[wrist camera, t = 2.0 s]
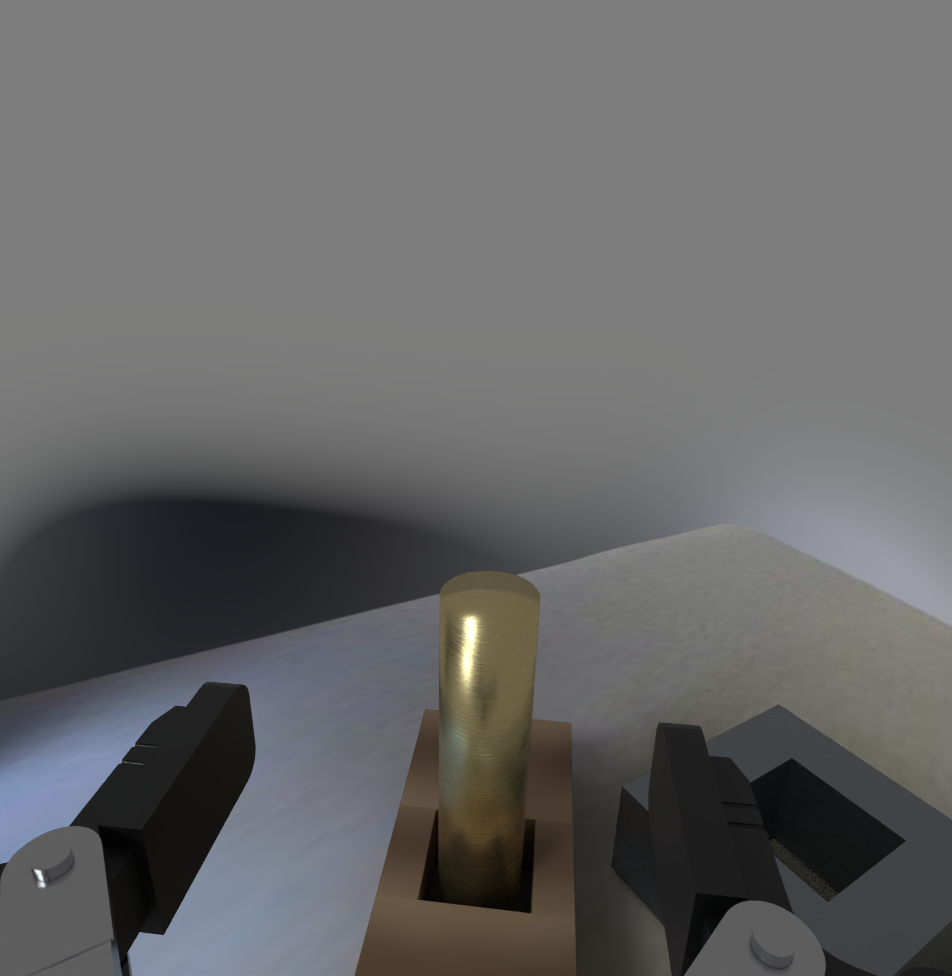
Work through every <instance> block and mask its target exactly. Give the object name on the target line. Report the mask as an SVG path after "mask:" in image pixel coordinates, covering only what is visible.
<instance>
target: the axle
mask: <svg viewBox="0 0 952 976" xmlns="http://www.w3.org/2000/svg"><path fill="white" fill-rule="evenodd" d="M539 607H540V595H539V592H538V590H537V589H536V588H535V586H534V585H533V584H531V583H530V582H529V581H527V580H525V579H523V578H521V577H519V576H516V575H513V574H510V573H505V572H498V571H475V572H470V573H465V574H462V575H459V576H456V577H454V578H452V579H451V580H449V581H448V582H447V583H446V584H445V585H444V586H443V587H442V589H441V592H440V646H439V825H438V902H440V903H448V904H456V905H465V906H473V907H481V908H490V909H498V910H506V911H515V912H519V900H520V886H521V871H522V856H523V842H524V827H525V813H526V798H527V783H528V769H529V754H530V739H531V725H532V710H533V695H534V681H535V666H536V651H537V637H538V622H539Z"/></svg>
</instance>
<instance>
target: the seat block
mask: <svg viewBox="0 0 952 976" xmlns="http://www.w3.org/2000/svg"><path fill="white" fill-rule="evenodd" d="M705 743H706V746H707V750H708V753H709V756H718V757H729V758H731V759H732V761H733V762H734V763H735V764H736V765H737V767H738V768H739V769H740V770H741V771H742V773H743V774H744V775H745V776H746V777H747V778H748V780H749V782H750V785H751V788H752V791H753V794H754V797H755V800H756V803H757V810H759V812H760V815H761V818H762V821H763V824H764V830H765V831H766V833H767V836H768V838H770V837H771V836H774V837H775V838H776V839H777V840H778V841H779V842H781V843H782V844H783V845H784V846H785V847H787V848H788V849H789V850H790V851H791V852H793V853H794V854H795V855H796V856H797V857H798V858H800V859H801V860H802V861H803V862H804V863H806V864H807V865H808V866H809V867H810V868H811V869H813V870H814V871H815V872H816V873H817V874H819V875H820V876H821V877H822V878H823V879H825V880H826V881H827V882H828V883H829V884H830V885H832V886H833V887H834V888H835V889H836V890H838V891H839V892H840V893H839V894H838V895H837V896H835V897H834V898H833V899H831V900H830V901H829V902H827V901H826V900H825V899H823V898H822V897H821V896H820V895H819V894H818V893H817V892H815V891H814V890H813V889H812V888H811V887H810V886H808V885H807V884H806V883H805V882H804V881H803V880H802V879H800V878H799V877H798V876H797V875H796V874H795V873H794V872H792V871H791V870H790V869H789V868H788V867H787V866H785V865H784V864H783V863H782V862H781V861H780V860H779V859H777V858H776V857H775V856H774V857H775V860H776V863H777V866H778V869H779V872H780V875H781V878H782V881H783V884H784V887H785V890H786V893H787V896H788V899H789V902H790V905H791V908H792V910H793V913H794V915H795V916H796V917H798V918H799V919H800V920H801V921H802V922H803V923H804V924H806V925H807V927H808V928H809V929H810V930H811V931H812V932H813V934H814V935H815V937H816V938H817V940H818V941H819V943H820V946H821V947H822V948H823V949H824V950H826V951H827V952H829V953H830V954H831V955H833V956H835V957H836V958H838V959H840V960H841V961H844V962H846V963H848V964H850V965H852V966H855V967H857V968H859V969H862V970H864V971H867V972H869V973H872V974H874V975H877V976H899V975H900V974H901V973H902V972H904V971H905V970H907V969H911V968H914V967H929V968H935V969H939V970H942V971H945V972H947V973H951V972H952V820H951V819H950V818H948V817H947V816H945V815H944V814H942V813H941V812H939V811H938V810H936V809H935V808H933V807H932V806H930V805H929V804H927V803H926V802H924V801H923V800H921V799H920V798H918V797H917V796H915V795H914V794H912V793H911V792H909V791H908V790H906V789H905V788H903V787H902V786H900V785H899V784H897V783H896V782H894V781H893V780H891V779H890V778H888V777H887V776H885V775H884V774H882V773H881V772H879V771H878V770H876V769H875V768H873V767H872V766H870V765H869V764H867V763H866V762H864V761H863V760H861V759H860V758H858V757H857V756H855V755H854V754H852V753H851V752H849V751H848V750H846V749H845V748H843V747H842V746H840V745H839V744H837V743H836V742H834V741H833V740H831V739H830V738H828V737H827V736H825V735H824V734H822V733H821V732H819V731H818V730H816V729H815V728H813V727H812V726H810V725H809V724H807V723H806V722H804V721H803V720H801V719H800V718H798V717H797V716H795V715H794V714H792V713H791V712H789V711H788V710H786V709H785V708H783V707H782V706H780V705H779V704H778V705H776V706H774V707H773V708H771V709H769V710H767V711H765V712H763V713H761V714H759V715H757V716H755V717H753V718H751V719H750V720H748V721H746V722H744V723H742V724H740V725H738V726H736V727H734V728H732V729H730V730H728V731H727V732H725V733H723V734H721V735H719V736H717V737H715V738H713V739H711V740H709V741H707V742H705ZM650 774H651V771H650V772H648V773H646V774H644V775H642V776H640V777H638V778H636V779H635V780H633V781H631V782H629V783H627V784H625V785H623V786H622V791H621V798H620V806H619V813H618V820H617V828H616V835H615V843H614V850H613V857H612V865H611V867H612V868H613V869H614V870H615V871H616V872H617V873H618V874H619V876H620V877H621V878H622V879H623V880H624V881H625V882H626V883H627V885H628V886H629V887H630V888H631V889H632V890H633V891H634V892H635V893H636V895H637V896H638V897H639V898H640V899H641V900H642V901H643V902H644V904H645V905H646V906H647V907H648V908H649V909H650V910H651V911H652V912H653V914H654V915H655V916H656V917H657V918H658V919H659V920H660V921H661V923H662V924H663V925H664V918H663V911H662V904H661V897H660V891H659V884H658V877H657V870H656V864H655V857H654V850H653V843H652V836H651V830H650V823H649V812H648V792H649V782H650ZM664 926H665V925H664Z"/></svg>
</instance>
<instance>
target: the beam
mask: <svg viewBox="0 0 952 976" xmlns="http://www.w3.org/2000/svg"><path fill="white" fill-rule="evenodd" d="M438 825H439V710H428V709H425V712H424V716H423V720H422V724H421V727H420V731H419V735H418V739H417V742H416V746H415V750H414V754H413V758H412V761H411V765H410V769H409V773H408V776H407V780H406V784H405V788H404V792H403V795H402V799H401V803H400V807H399V810H398V814H397V818H396V822H395V825H394V829H393V833H392V837H391V841H390V844H389V848H388V852H387V856H386V859H385V863H384V867H383V871H382V875H381V878H380V882H379V886H378V890H377V893H376V897H375V901H374V905H373V909H372V912H371V916H370V920H369V924H368V927H367V931H366V935H365V939H364V943H363V946H362V950H361V954H360V958H359V961H358V965H357V969H356V973H355V976H576V939H575V893H574V847H573V801H572V755H571V723H565V722H555V721H544V720H534V719H532V725H531V739H530V754H529V769H528V783H527V798H526V813H525V827H524V842H523V856H522V866H528V867H532V878H531V902H530V913H523V912H515V911H506V910H498V909H490V908H481V907H473V906H465V905H456V904H448V903H440V902H431V901H427V900H428V895H429V890H430V884H431V879H432V874H433V868H434V863H435V858H436V856H438Z"/></svg>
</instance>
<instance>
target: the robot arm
mask: <svg viewBox="0 0 952 976" xmlns="http://www.w3.org/2000/svg"><path fill="white" fill-rule="evenodd" d="M255 751H256V747H255V738H254V729H253V721H252V713H251V705H250V697H249V691H248V689H247V687H246V686H245V685H241V684H229V683H218V682H206V683H205V684H203V685H202V687H201V688H200V689H199V690H198V692H197V693H196V694H195V696H194V697H193V698H192V700H191V701H190V702H189V704H188V705H187V706H186V707H184V706H175V707H173V708H172V709H170V710H169V711H168V712H166V713H165V714H163V715H162V716H160V717H159V718H158V719H156V720H155V721H153V722H152V723H151V724H150V725H149V727H148V728H147V729H146V730H145V732H144V733H143V734H142V735H141V737H140V738H139V739H138V740H137V742H136V743H135V747H132V748H131V749H130V750H129V752H128V753H127V754H126V755H125V757H124V758H123V759H122V763H121V764H118V765H117V767H116V768H115V769H114V770H113V772H112V773H111V774H110V776H109V777H108V778H107V779H106V781H105V782H104V783H103V784H102V786H101V787H100V788H99V789H98V791H97V792H96V793H95V794H94V796H93V797H92V798H91V799H90V801H89V802H88V803H87V804H86V806H85V807H84V808H83V809H82V811H81V812H80V813H79V814H78V816H77V817H76V818H75V819H74V821H73V822H72V823H71V824H70V826H69V827H63V828H58V829H55V830H52V831H49V832H47V833H44V834H42V835H40V836H38V837H36V838H35V839H33V840H32V841H30V842H28V843H27V844H26V845H24V846H23V847H22V848H21V849H19V850H18V851H17V852H16V853H15V854H14V855H13V857H12V858H11V859H10V860H9V862H7V863H3V864H0V976H132V970H131V963H130V958H129V953H128V951H129V949H130V947H131V946H132V944H133V942H134V940H135V939H136V937H137V935H138V933H139V932H143V933H152V934H160V935H164V934H165V932H166V930H167V928H168V926H169V924H170V923H171V921H172V919H173V917H174V915H175V913H176V912H177V910H178V908H179V906H180V904H181V902H182V901H183V899H184V897H185V895H186V893H187V891H188V890H189V888H190V886H191V884H192V882H193V880H194V879H195V877H196V875H197V873H198V871H199V869H200V868H201V866H202V864H203V862H204V860H205V859H206V857H207V855H208V853H209V851H210V849H211V848H212V846H213V844H214V842H215V840H216V838H217V837H218V835H219V833H220V831H221V829H222V827H223V826H224V824H225V822H226V820H227V818H228V816H229V815H230V813H231V811H232V809H233V807H234V805H235V804H236V802H237V800H238V798H239V796H240V794H241V793H242V791H243V789H244V787H245V785H246V783H247V782H248V780H249V778H250V775H251V772H252V769H253V765H254V760H255ZM648 812H649V823H650V830H651V836H652V843H653V850H654V857H655V864H656V870H657V877H658V884H659V891H660V897H661V904H662V911H663V918H664V925H665V931H666V938H667V945H668V952H669V959H670V965H671V972H672V976H877V975H874V974H872V973H869V972H867V971H864V970H862V969H859V968H857V967H855V966H852V965H850V964H848V963H846V962H844V961H841V960H840V959H838V958H836V957H835V956H833V955H831V954H830V953H829V952H827V951H826V950H824V949H823V948H822V947H821V946H820V943H819V941H818V940H817V938H816V937H815V935H814V934H813V932H812V931H811V930H810V929H809V928H808V927H807V925H806V924H804V923H803V922H802V921H801V920H800V919H799V918H798V917H796V916H795V915H794V913H793V910H792V908H791V905H790V902H789V899H788V896H787V893H786V890H785V887H784V884H783V881H782V878H781V875H780V872H779V869H778V866H777V863H776V860H775V857H774V854H773V851H772V848H771V845H770V842H769V839H768V836H767V833H766V831H765V830H764V824H763V821H762V818H761V815H760V812H759V810H757V803H756V800H755V797H754V794H753V791H752V788H751V785H750V782H749V780H748V778H747V777H746V776H745V775H744V774H743V773H742V771H741V770H740V769H739V768H738V767H737V765H736V764H735V763H734V762H733V761H732V759H731V758H729V757H718V756H709V753H708V750H707V746H706V743H705V739H704V735H703V732H702V729H701V727H700V726H696V725H684V724H673V723H661V722H660V723H659V724H658V727H657V732H656V739H655V746H654V753H653V760H652V767H651V774H650V782H649V792H648ZM899 976H952V974H950V973H947V972H945V971H942V970H939V969H935V968H929V967H914V968H911V969H907V970H905V971H904V972H902V973H901V974H900V975H899Z"/></svg>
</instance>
